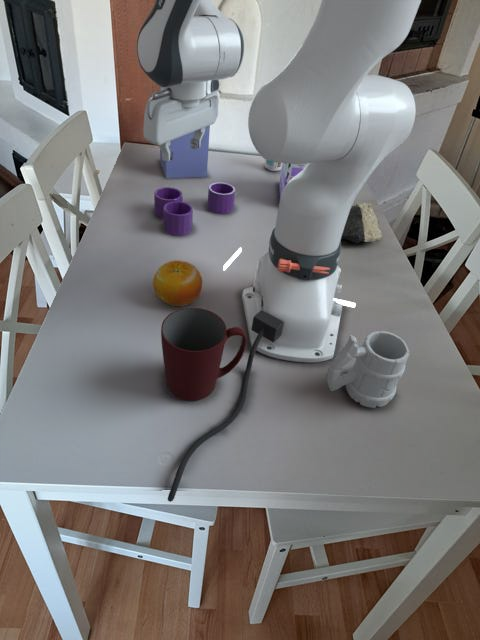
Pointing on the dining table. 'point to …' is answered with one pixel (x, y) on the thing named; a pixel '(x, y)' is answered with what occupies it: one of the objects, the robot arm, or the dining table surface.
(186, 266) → the fruit
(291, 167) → the candy box
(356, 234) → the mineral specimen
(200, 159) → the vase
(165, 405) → the dining table surface
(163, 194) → the purple cup
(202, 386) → the mug
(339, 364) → the mug
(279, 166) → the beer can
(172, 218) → the dish
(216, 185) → the purple short cylinder
